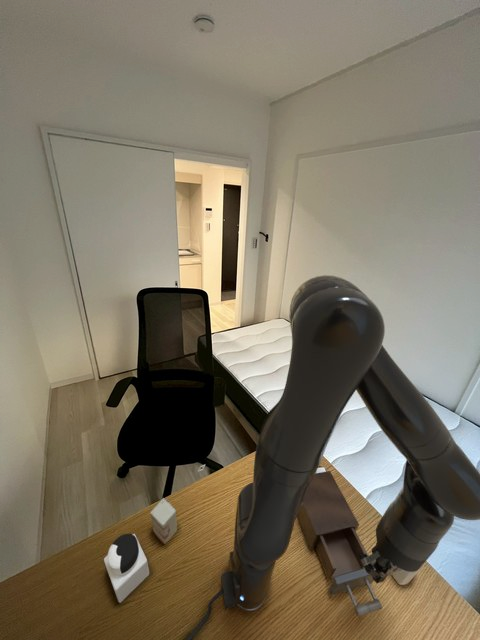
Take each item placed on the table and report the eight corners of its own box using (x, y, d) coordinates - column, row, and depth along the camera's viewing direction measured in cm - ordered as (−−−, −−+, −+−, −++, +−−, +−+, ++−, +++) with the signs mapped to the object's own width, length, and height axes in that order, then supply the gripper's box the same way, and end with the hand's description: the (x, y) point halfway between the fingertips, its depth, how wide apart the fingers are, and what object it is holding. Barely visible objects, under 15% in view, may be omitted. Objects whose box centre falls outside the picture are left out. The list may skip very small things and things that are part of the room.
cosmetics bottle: (152, 532, 66) (149, 511, 62) (165, 517, 69) (163, 496, 65) (165, 546, 63) (162, 526, 59) (178, 530, 67) (176, 509, 62)
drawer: (386, 611, 55) (395, 600, 53) (342, 627, 53) (349, 616, 50) (340, 519, 71) (346, 507, 69) (304, 528, 69) (309, 515, 66)
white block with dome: (137, 546, 63) (131, 521, 58) (150, 574, 59) (145, 549, 53) (108, 572, 58) (99, 547, 53) (119, 604, 54) (111, 580, 49)
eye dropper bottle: (418, 587, 60) (438, 565, 55) (394, 584, 60) (413, 561, 55) (408, 564, 64) (426, 540, 59) (386, 561, 64) (402, 537, 59)
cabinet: (351, 540, 68) (359, 524, 64) (310, 551, 65) (316, 535, 61) (324, 486, 80) (329, 470, 77) (288, 493, 78) (293, 477, 74)
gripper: (418, 501, 48) (388, 546, 55) (360, 515, 45) (337, 560, 52) (456, 550, 41) (416, 593, 49) (391, 569, 38) (359, 612, 46)
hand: (375, 576), depth 50 cm, fingers closed
